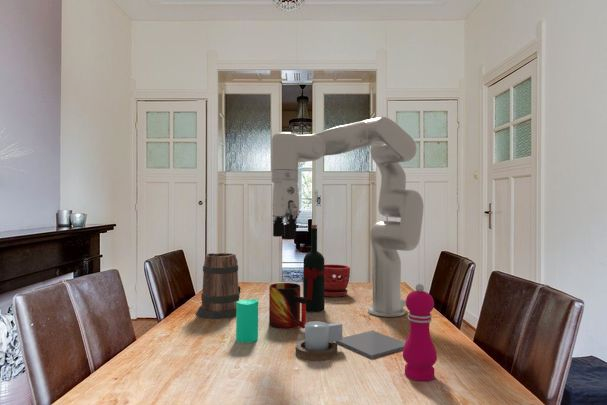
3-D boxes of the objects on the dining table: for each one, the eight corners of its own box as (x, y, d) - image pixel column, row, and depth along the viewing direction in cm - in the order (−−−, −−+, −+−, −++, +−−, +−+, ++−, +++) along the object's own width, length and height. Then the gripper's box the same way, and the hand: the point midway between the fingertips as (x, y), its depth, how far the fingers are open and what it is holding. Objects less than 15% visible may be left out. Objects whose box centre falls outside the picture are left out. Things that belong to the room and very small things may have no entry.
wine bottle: (297, 312, 139) (298, 225, 139) (306, 305, 149) (306, 224, 149) (319, 314, 137) (320, 226, 137) (327, 307, 146) (327, 224, 147)
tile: (372, 333, 118) (372, 330, 118) (410, 347, 106) (410, 344, 106) (335, 342, 110) (335, 339, 110) (371, 358, 98) (371, 355, 98)
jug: (311, 358, 98) (311, 329, 98) (300, 350, 103) (301, 323, 104) (346, 352, 102) (346, 324, 102) (335, 345, 108) (335, 318, 108)
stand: (325, 343, 109) (325, 336, 109) (345, 356, 99) (345, 349, 99) (289, 348, 105) (289, 341, 105) (306, 363, 95) (306, 355, 95)
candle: (261, 336, 114) (261, 294, 114) (252, 343, 108) (252, 298, 108) (242, 334, 116) (242, 292, 116) (232, 341, 110) (232, 297, 110)
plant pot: (351, 298, 161) (351, 268, 161) (318, 298, 161) (318, 268, 162) (348, 291, 174) (348, 263, 174) (317, 291, 175) (317, 263, 175)
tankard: (233, 321, 129) (233, 258, 129) (185, 317, 133) (185, 256, 133) (258, 303, 152) (258, 250, 152) (217, 300, 156) (217, 248, 156)
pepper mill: (398, 369, 92) (398, 281, 92) (429, 368, 93) (429, 280, 93) (409, 383, 85) (409, 287, 85) (442, 382, 85) (442, 287, 85)
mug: (304, 332, 118) (305, 291, 118) (263, 326, 123) (263, 287, 123) (317, 323, 127) (317, 285, 127) (278, 318, 132) (278, 281, 132)
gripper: (309, 175, 108) (308, 239, 108) (286, 179, 124) (286, 235, 124) (282, 174, 105) (282, 240, 105) (263, 178, 121) (262, 235, 121)
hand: (284, 237), depth 115 cm, fingers open, 9 cm apart
